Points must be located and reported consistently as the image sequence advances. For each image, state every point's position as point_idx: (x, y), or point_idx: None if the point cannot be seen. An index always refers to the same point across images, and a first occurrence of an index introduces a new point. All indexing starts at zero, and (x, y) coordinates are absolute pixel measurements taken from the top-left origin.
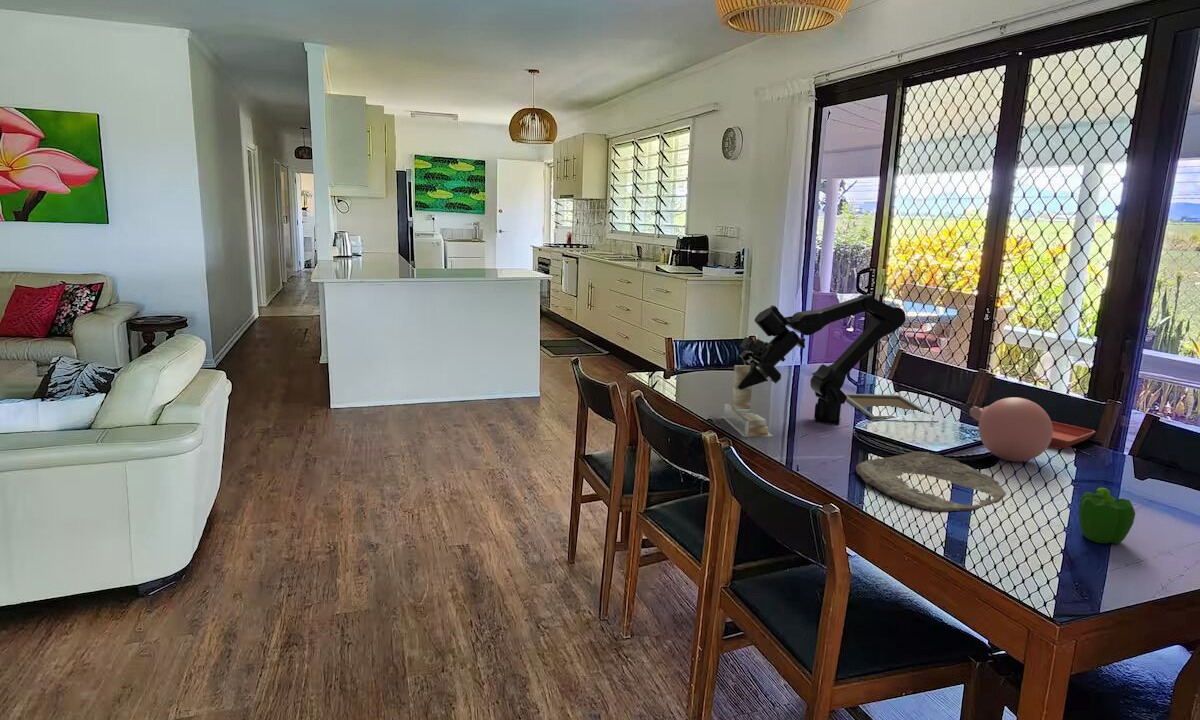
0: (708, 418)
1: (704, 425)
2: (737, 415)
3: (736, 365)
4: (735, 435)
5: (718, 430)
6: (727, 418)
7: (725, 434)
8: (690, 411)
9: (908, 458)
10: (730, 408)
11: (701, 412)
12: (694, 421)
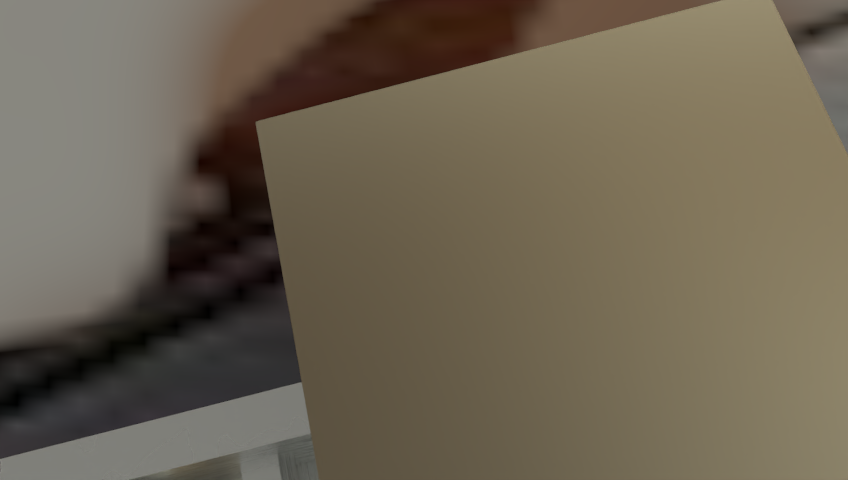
0: None
1: None
2: (103, 435)
3: (720, 98)
4: (45, 429)
5: (201, 270)
6: None
7: (76, 331)
8: (842, 15)
9: None
10: None
11: (845, 116)
12: (473, 60)
